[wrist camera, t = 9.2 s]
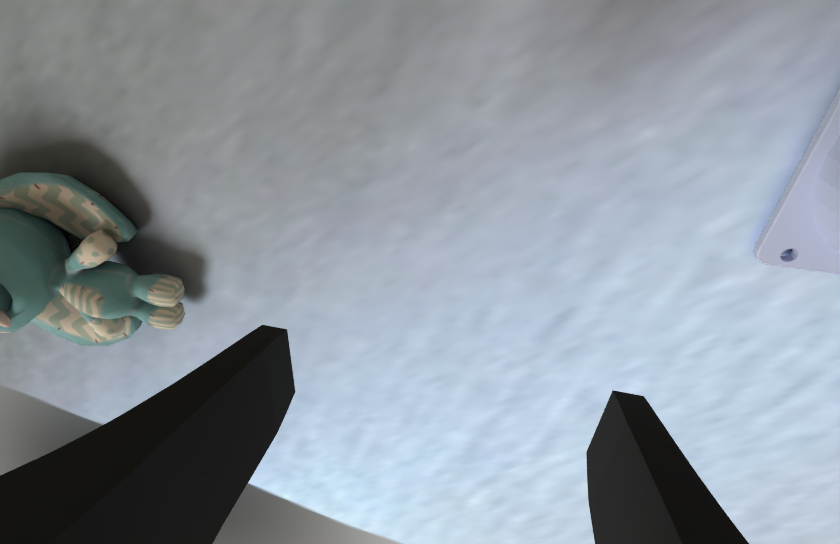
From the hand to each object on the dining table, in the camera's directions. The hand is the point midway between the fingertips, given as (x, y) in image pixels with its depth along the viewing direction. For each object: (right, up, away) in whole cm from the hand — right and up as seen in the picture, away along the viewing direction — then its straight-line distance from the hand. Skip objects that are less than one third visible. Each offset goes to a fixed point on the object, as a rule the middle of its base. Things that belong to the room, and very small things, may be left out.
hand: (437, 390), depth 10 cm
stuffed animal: (-18, +4, +14) cm, 23 cm away
